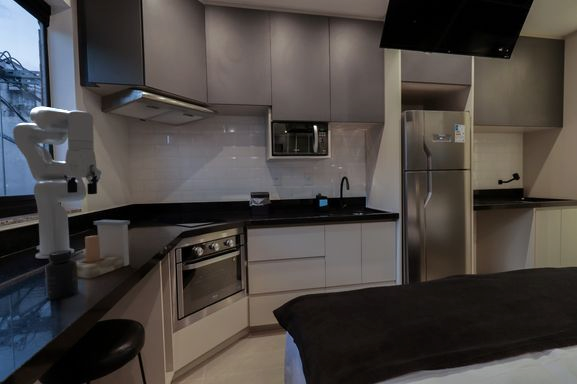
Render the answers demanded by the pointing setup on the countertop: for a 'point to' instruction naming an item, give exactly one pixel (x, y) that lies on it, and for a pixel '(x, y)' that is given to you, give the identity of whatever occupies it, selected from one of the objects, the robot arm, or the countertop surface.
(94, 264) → the socket block
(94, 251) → the peg
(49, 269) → the supplement bottle
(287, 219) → the countertop surface
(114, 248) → the white lidded canister
